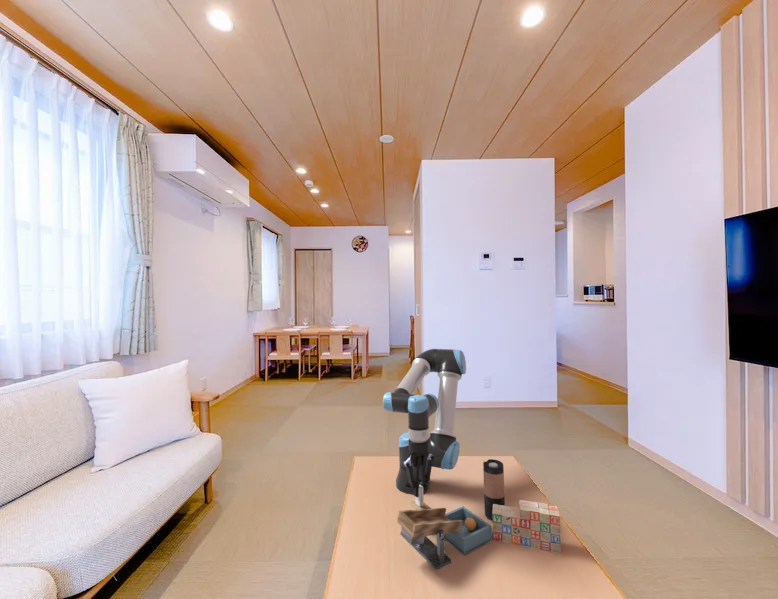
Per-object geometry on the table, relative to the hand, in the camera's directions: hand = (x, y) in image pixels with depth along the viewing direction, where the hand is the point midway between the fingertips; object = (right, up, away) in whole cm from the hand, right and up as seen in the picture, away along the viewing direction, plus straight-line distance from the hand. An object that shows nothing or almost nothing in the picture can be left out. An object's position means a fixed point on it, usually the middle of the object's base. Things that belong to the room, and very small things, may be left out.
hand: (419, 504), depth 125 cm
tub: (+15, -8, -5) cm, 18 cm away
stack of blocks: (+36, -8, -8) cm, 38 cm away
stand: (+2, -8, -13) cm, 15 cm away
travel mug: (+30, -8, +6) cm, 31 cm away
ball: (+18, -5, -3) cm, 19 cm away
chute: (-1, -3, -9) cm, 9 cm away
